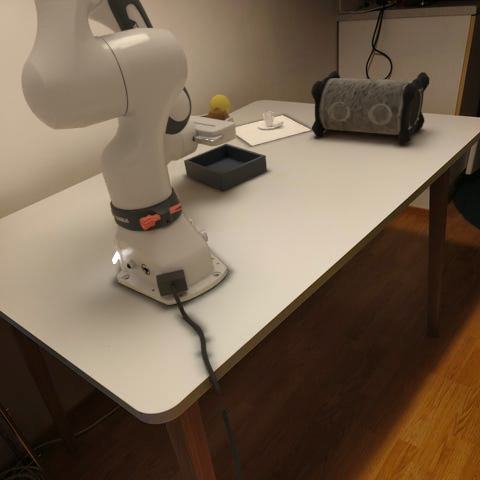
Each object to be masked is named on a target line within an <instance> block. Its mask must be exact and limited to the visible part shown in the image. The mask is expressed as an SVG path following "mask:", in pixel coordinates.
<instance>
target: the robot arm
mask: <svg viewBox="0 0 480 480" xmlns="http://www.w3.org/2000/svg"><path fill="white" fill-rule="evenodd" d="M33 1H34V6H35V10H36V24H37V25H36V34H35V38H34V43H33V46H32V48H31V51H30V53H29V55H28V57H27V58H26V59H25V62H24V64H23V67H22V71H21V77H20V78H21V90H22V93H23V97H24V99H25V102H26V104H27V107H28V108H29V109H30V110H31V112H32V114H33V115H34V116H35V117H36V118H37V119H38V120H39V121H40V122H41V123H42V124H44V125H45V126H47V127H49V128H50V129H52V130H56V131H57V130H72V129H82V128H87V127H91V126H94V125H97V124H100V123H103V122H107V121H110V120H113V119H117V123H118V125H117V126H118V127H117V130H116V131H115V134H114V136H113V137H112V139H110V141H109V142H107V144H106V145H105V147H104V148H103V149H102V152H101V155H100V159H99V168H100V170H101V173H102V176H103V180H104V183H105V186H106V189H107V193H108V195H109V199H110V201H109V206H110V211H111V215H112V217H113V219H114V222H115V224H116V225H117V226H116V227H117V228H116V233H115V235H114V238H113V243H114V247H115V250H116V252H115V254H114V256H113V258H112V263H113V264H116V263H117V262H119V266H120V269H121V270H120V271H119V272H118V274H117V276H116V278H117V282H118V283H119V284H121V285H123V286H125V287H127V288H129V289H132V290H133V291H136V292H137V293H138V292H139V293H140V294H142V295H145V296H147V297H149V298H151V299H153V300H155V301H157V302H159V303H162V304H164V305H166V306H172V305H177V307H178V310H179V312H180V314H181V316H182V317H183V319H184V320H185V322H187V324H189V326H191V327H192V328H194V329H195V330H196V332H197V333H198V335H199V339H200V351H201V356H202V359H203V362H204V365H205V367H206V371H207V372H208V374H209V377H210V380H211V382H212V385H213V389H214V391H215V394H216V395H220V394H222V391H221V387H220V384H219V381H218V379H217V376H216V374H215V371H214V369H213V367H212V364H211V362H210V360H209V359H210V358H209V356H208V352H207V341H206V336H205V333H204V331H203V329H202V328H201V326H200V325H198V323H196V322H195V321H194V320H193V319H192V318H190V317H189V315H188V313H187V312H186V310H185V308H184V306H183V304H182V303H184V302H186V301H187V302H188V301H189V300H192V299H194V298H197V297H198V296H200V295H202V294H204V293H206V292H208V291H209V290H211V289H212V288H214V287H216V286H217V285H218V284H219V283H221V281H223V280H224V278H225V277H226V276H227V274H228V268H227V266H226V265H225V264H224V263H223V262H222V261H221V260H220V259H219V258H218V257H217V256H216V255H215V254H214V253H213V252H211V249H210V247H209V245H208V241H209V236H208V233H207V231H206V230H205V229H202V230H199V231H198V230H197V228H196V227H195V226H194V220H193V219H192V218H188V217H187V216H186V214H184V212H183V207H182V203H181V202H180V199H179V196H178V195H177V192H176V190H175V189H174V188H173V186H172V184H171V179H170V174H169V169H168V168H169V167H168V165H169V164H170V163H171V162H174V161H175V162H176V161H179V160H181V159H183V158H186V157H188V156H190V155H191V154H194V153H195V152H196V151H197V149H198V146H199V145H204V146H209V147H219V146H221V145H224V144H227V143H229V142H231V141H233V140H235V139H236V138H237V135H236V128H235V127H236V124H235V121H234V118H233V117H231V116H229V117H227V118H224V120H218V119H211V118H207V115H208V113H204V114H199V115H192V99H191V97H190V94H189V91H188V89H187V88H186V83H187V78H188V62H187V61H188V60H187V56H186V52H185V50H184V48H183V47H182V44H181V43H180V41H179V40H178V38H177V37H176V36H175V35H174V34H173V33H172V32H171V31H170V30H168V29H166V28H158V27H157V28H156V27H153V24H152V22H151V20H150V18H149V15H148V14H147V11H146V9H145V8H144V6H143V4H142V2H141V1H140V0H33ZM89 20H92V21H94V22H96V23H98V24H101V25H102V26H104V27H106V28H108V29H109V30H110V31H112V32H113V33H107V34H104V35H100V36H98V35H94V34H93V32H92V29H91V26H90V21H89ZM221 416H222V419H223V422H224V427H225V430H226V434H227V438H228V442H229V446H230V450H231V454H232V459H233V462H234V467H235V471H236V475H237V479H238V480H244V477H243V473H242V468H241V464H240V460H239V456H238V451H237V447H236V444H235V439H234V435H233V431H232V427H231V423H230V420H229V415H228V411H227V408H224V409H223V410H222V411H221Z"/></svg>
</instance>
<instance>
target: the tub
mask: <svg viewBox="0 0 480 480" xmlns="http://www.w3.org/2000/svg"><path fill="white" fill-rule="evenodd" d="M183 164H184V169H185V173H186V176H188V177H189V178H193V179H195V180H197V181H199V182H202V183H205V184H206V185H209V186H212V187H214V188H216V189H219V190H221V191H226V190H229V189H231V188H233V187H235V186H238V185H239V184H242V183H244V182H246V181H248V180H250V179H253V178H255V177H257V176H259V175H261V174H263V173H266V172H267V171H268V166H267V155H265V154H261V153H258V152H255V151H252V150H248V149H246V148H242V147H239V146H235V145H233V144H229V143H224V144H221V145H218V146H215V147H214V148H212V149H209V150H206V151H204V152H201V153H199V154H197V155H194V156H192V157H189V158H187V159H184V160H183Z"/></svg>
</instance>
